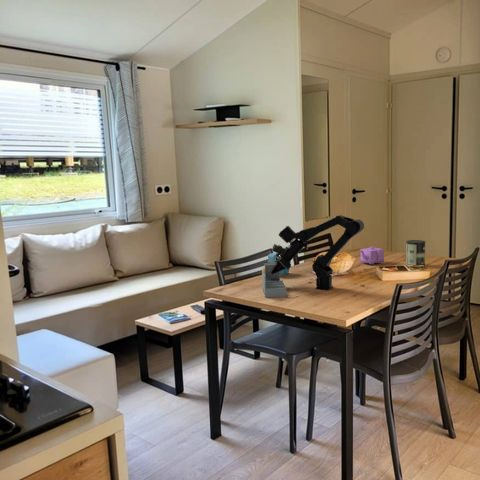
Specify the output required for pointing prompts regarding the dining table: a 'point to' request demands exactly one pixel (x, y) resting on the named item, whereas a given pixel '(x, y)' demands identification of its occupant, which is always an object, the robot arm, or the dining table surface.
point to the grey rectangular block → (268, 270)
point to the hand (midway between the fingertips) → (271, 272)
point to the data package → (273, 259)
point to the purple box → (372, 255)
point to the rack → (273, 287)
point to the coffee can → (415, 252)
